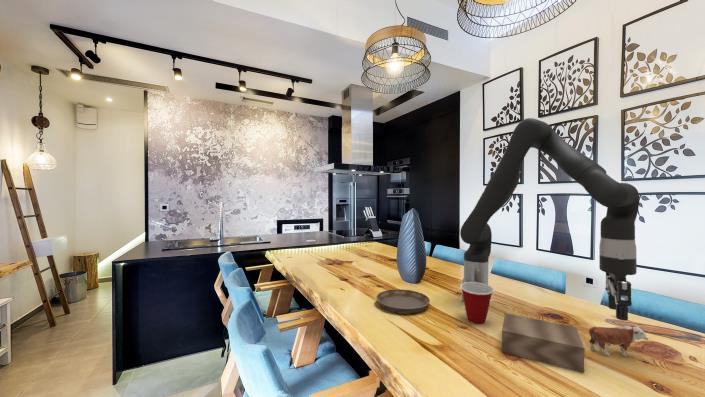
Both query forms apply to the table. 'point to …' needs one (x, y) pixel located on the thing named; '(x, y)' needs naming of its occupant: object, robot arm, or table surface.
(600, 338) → the bull figurine
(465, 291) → the plastic cup
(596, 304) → the table surface
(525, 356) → the walnut block
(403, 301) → the plant saucer
